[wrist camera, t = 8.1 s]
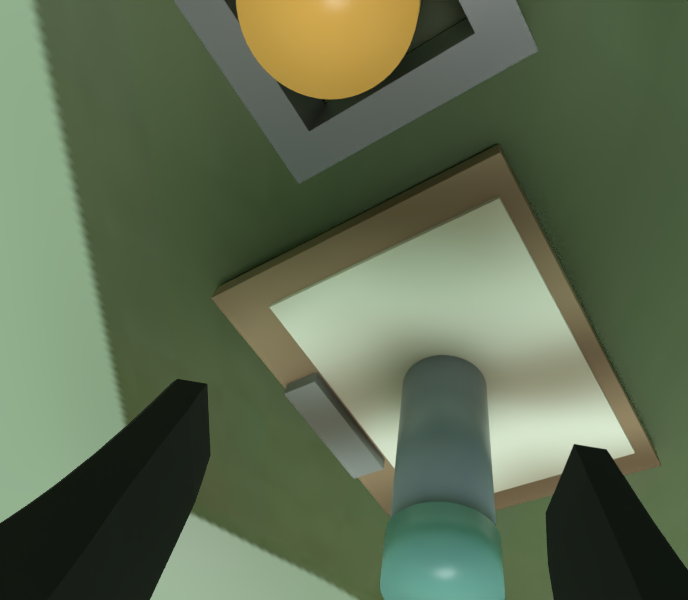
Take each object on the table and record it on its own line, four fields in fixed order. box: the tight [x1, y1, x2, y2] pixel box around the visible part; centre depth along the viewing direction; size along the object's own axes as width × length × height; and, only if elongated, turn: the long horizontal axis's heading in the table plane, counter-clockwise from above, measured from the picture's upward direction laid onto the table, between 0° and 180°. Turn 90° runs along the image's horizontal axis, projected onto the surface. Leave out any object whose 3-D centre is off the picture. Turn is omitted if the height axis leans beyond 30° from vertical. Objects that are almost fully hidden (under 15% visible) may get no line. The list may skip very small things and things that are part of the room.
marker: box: [380, 355, 505, 600], centre depth 20 cm, size 3×3×8 cm
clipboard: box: [211, 144, 661, 516], centre depth 24 cm, size 14×11×1 cm
